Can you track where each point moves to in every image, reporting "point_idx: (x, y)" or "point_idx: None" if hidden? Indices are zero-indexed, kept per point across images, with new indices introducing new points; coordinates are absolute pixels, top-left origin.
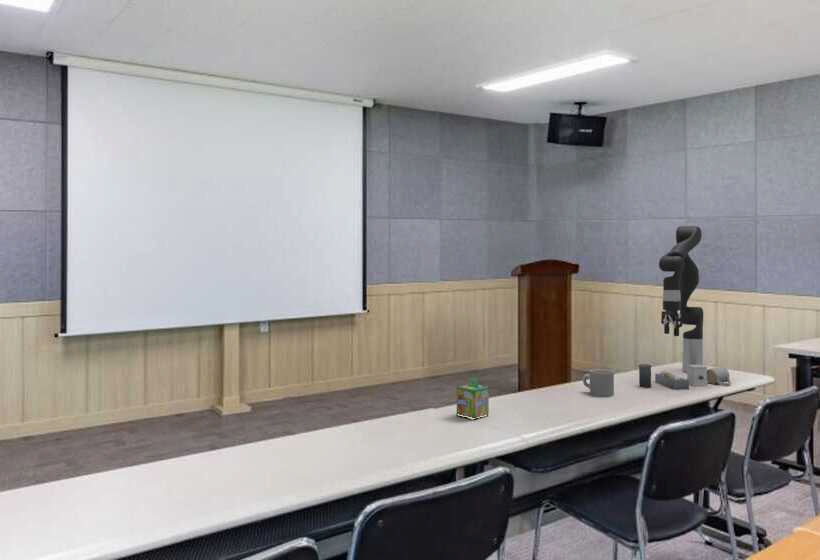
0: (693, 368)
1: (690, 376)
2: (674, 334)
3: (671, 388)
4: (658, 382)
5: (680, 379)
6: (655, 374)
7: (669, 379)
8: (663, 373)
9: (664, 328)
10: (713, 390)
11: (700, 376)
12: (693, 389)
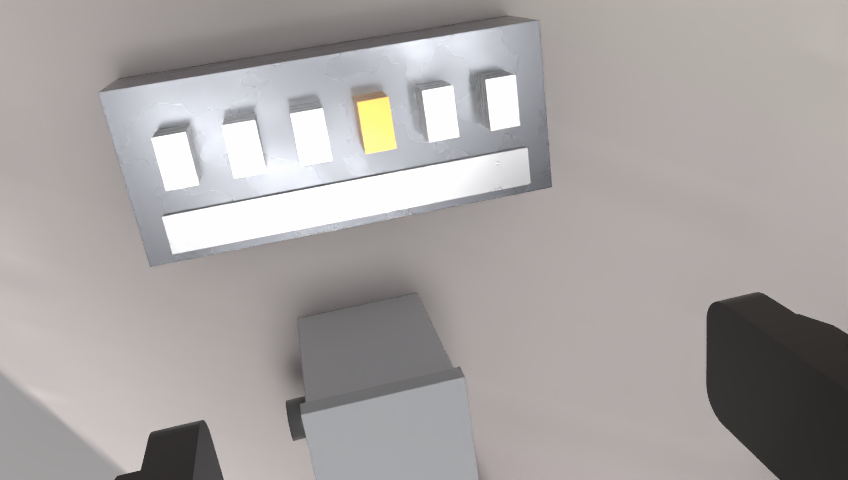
0: (311, 403)
1: (371, 341)
2: (151, 452)
3: (170, 70)
4: (442, 26)
5: (188, 192)
6: (529, 20)
7: (207, 74)
8: (438, 85)
9: (845, 362)
10: (117, 423)
11: (290, 417)
12: (150, 271)
